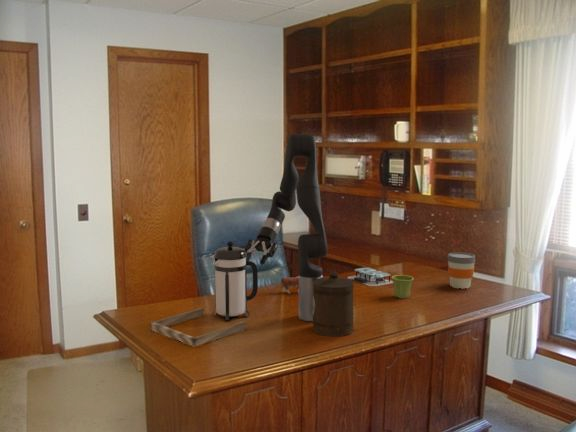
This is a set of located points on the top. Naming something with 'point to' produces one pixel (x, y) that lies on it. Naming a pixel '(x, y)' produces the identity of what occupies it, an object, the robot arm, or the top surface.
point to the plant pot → (402, 285)
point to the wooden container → (333, 306)
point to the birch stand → (162, 328)
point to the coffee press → (232, 281)
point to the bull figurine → (290, 283)
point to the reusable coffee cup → (460, 269)
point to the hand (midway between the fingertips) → (253, 262)
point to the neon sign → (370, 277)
